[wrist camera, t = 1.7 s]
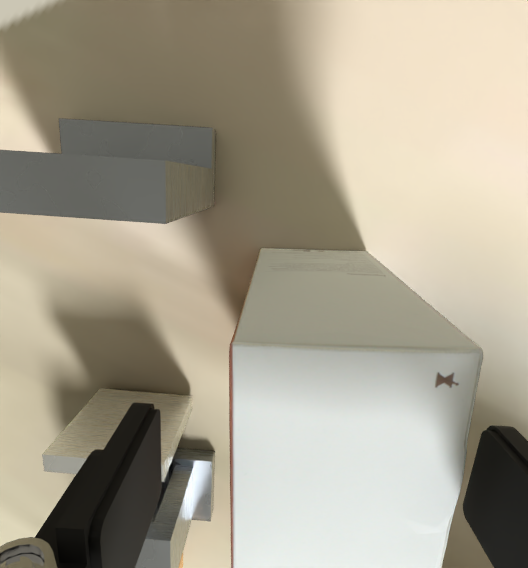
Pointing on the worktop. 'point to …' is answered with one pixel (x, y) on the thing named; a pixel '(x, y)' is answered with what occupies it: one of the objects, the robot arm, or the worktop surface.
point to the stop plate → (114, 173)
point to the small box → (344, 416)
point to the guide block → (180, 508)
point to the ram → (104, 421)
